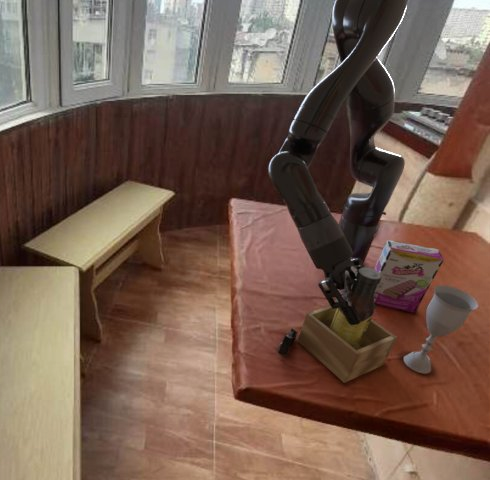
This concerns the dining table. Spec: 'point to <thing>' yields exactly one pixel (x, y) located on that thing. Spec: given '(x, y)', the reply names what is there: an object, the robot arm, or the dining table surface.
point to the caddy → (344, 345)
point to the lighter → (287, 342)
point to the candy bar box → (405, 274)
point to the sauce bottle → (358, 308)
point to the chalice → (441, 322)
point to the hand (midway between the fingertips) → (363, 316)
